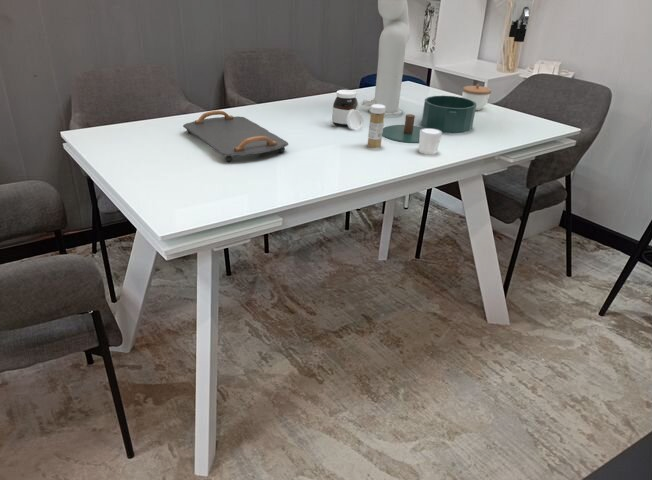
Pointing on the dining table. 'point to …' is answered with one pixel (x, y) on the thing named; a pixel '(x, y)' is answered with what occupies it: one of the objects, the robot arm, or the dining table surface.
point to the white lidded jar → (477, 95)
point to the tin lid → (403, 131)
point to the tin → (448, 114)
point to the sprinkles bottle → (376, 125)
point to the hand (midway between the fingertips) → (515, 39)
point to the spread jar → (346, 110)
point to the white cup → (429, 140)
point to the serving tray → (234, 135)
